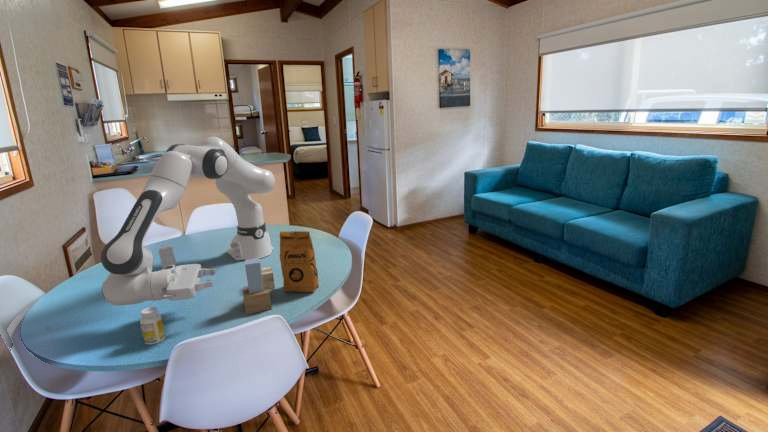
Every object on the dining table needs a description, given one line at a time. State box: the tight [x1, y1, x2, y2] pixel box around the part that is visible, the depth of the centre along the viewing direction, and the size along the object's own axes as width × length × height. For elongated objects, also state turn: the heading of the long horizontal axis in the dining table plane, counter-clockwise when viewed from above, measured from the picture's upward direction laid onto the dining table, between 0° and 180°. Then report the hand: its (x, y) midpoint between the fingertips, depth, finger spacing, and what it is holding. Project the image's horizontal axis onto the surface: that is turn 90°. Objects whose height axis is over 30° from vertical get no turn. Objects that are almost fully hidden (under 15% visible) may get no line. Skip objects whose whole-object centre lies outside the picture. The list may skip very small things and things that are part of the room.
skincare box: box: [158, 244, 178, 270], centre depth 160 cm, size 6×4×12 cm
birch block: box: [261, 266, 276, 290], centre depth 147 cm, size 6×6×6 cm
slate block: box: [244, 258, 264, 294], centre depth 130 cm, size 4×4×10 cm
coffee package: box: [279, 230, 320, 293], centre depth 141 cm, size 10×12×22 cm
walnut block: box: [242, 283, 273, 315], centre depth 132 cm, size 8×8×6 cm
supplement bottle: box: [139, 306, 166, 346], centre depth 114 cm, size 5×5×10 cm
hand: (213, 277), depth 126 cm, fingers open, 8 cm apart
